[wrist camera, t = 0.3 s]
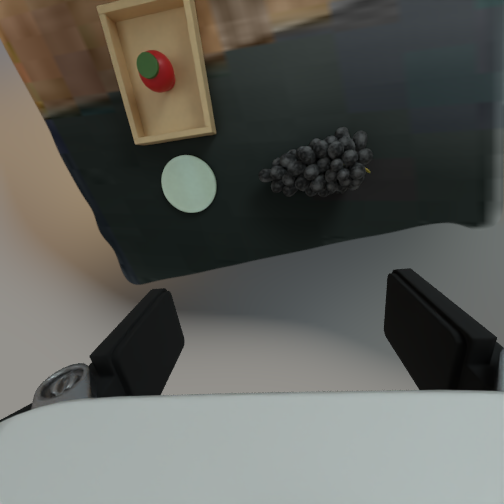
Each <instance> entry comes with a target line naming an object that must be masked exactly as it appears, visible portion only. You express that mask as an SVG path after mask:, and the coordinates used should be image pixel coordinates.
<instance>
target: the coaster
mask: <svg viewBox="0 0 504 504" xmlns="http://www.w3.org/2000/svg"><path fill="white" fill-rule="evenodd" d="M161 183H162V189H163V192H164V194H165V196H166V198H167V200H168V201H169V202H170V203H171V204H172V205H173V206H174V207H176V208H177V209H179V210H181V211H184V212H188V213H195V212H200V211H202V210H204V209H206V208H207V207H208V206H209V205H210V204H211V203H212V202H213V200H214V198H215V195H216V191H217V183H216V178H215V175H214V173H213V171H212V169H211V168H210V166H209V165H208V164H207V163H206V162H205V161H203V160H202V159H200V158H198V157H195V156H191V155H181V156H178V157H175V158H173V159H172V160H171V161H169V162H168V163H167V165H166V166H165V168H164V170H163V173H162V179H161Z"/></svg>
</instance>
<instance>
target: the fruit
mask: <svg viewBox="0 0 504 504" xmlns="http://www.w3.org/2000/svg"><path fill="white" fill-rule="evenodd" d="M366 144H367V133H366V132H364V131H358V132H357V133H355V134H354V135H353V139H351V138H350V135H349V131H348V129H347V128H345V127H341V128H339V129H337V131H336V132H335V137H334V136H328V137H326V139H325V140H324V141H321V140H320V139H317V138H316V139H313V140H312V141H311V142H310V144H309V146H305V147H304V146H301V147H299V148H298V149H297V150H295V149H292V150H290V151H289V152H288V153H285V154H283V155H282V156H281V158H276V159H275V160H274V161H273V168H271V169H262V170H261V171H260V172H259V179H260V180H261V181H262V182H270V181H272V184H271V189H272V191H273V192H275V193H279V192H281V191H282V190H283V193H284V194H285V195H286V196H292V195H293V194H295V193H296V192H297V190H298V189H299V190H300V191H305V193H306V194H307V195H308V196H310V197H311V196H314V195H317V194H319V195H320V196H321V197H326V196H328V195H331V194H333V193H334V192H336V193H340V194H341V193H344V192H345V191H346V190H347V188H348V189H349V190H356V189H358V187H359V186H360V185H361V183H362V182H363V181H364V179H365V173H366V172H368V173H370V171H369V170H368V169H367V168H365V166H364V165H365V164H368V163H369V162H370V161H371V160H372V158H373V152H372V151H371V150H370V149H364V148H365V147H366ZM330 158H331V159H332V161H331V159H330ZM356 161H357V162H356Z"/></svg>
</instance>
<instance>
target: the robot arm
mask: <svg viewBox="0 0 504 504" xmlns="http://www.w3.org/2000/svg"><path fill="white" fill-rule="evenodd" d="M384 332H385V336H386V338H387V339H388V341H389V342H390V344H391V345H392V347H393V349H394V350H395V352H396V353H397V355H398V356H399V358H400V360H401V361H402V363H403V364H404V366H405V368H406V369H407V371H408V372H409V374H410V376H411V377H412V379H413V380H414V382H415V383H416V385H417V387H418V388H419V390H392V391H391V390H387V391H329V392H328V391H327V392H326V391H323V392H275V393H273V392H271V393H225V394H189V395H161V393H162V391H163V389H164V387H165V385H166V382H167V380H168V378H169V376H170V374H171V372H172V370H173V368H174V366H175V364H176V361H177V359H178V357H179V355H180V353H181V351H182V349H183V346H184V336H183V333H182V329H181V326H180V323H179V319H178V316H177V312H176V309H175V306H174V302H173V299H172V295H171V293H170V292H169V291H167V290H166V289H164V288H163V289H152V290H151V291H150V292H149V293H148V294H147V295H146V296H145V297H144V298H143V299H142V300H141V301H140V302H139V303H138V305H136V307H135V308H134V309H133V310H132V311H131V312H130V313H129V314H128V315H127V316H126V317H125V319H123V321H122V322H121V323H120V324H119V325H118V326H117V327H116V328H115V329H114V330H113V331H112V332H111V333H110V334H109V336H108V337H107V338H106V339H105V340H104V341H103V342H102V343H101V344H100V345H99V346H98V347H97V348H96V349H95V350H94V352H93V353H92V354H91V355H90V358H91V360H92V363H91V364H90V365H89V366H87V365H86V364H82V363H78V364H73V365H70V366H68V367H65V368H63V369H61V370H59V371H57V372H55V373H54V374H52V375H51V376H50V377H48V378H47V379H46V380H45V381H44V382H43V383H42V384H41V385H40V386H39V387H38V388H37V390H36V392H35V395H34V399H33V403H31V404H30V405H28V406H26V407H24V408H22V409H20V410H18V411H17V412H15V413H13V414H11V415H9V416H7V417H5V418H3V419H1V420H0V504H504V348H503V347H502V346H501V345H500V344H499V343H497V342H496V340H497V337H496V336H495V335H493V334H492V333H491V332H489V331H488V330H487V329H486V328H485V327H483V326H482V325H481V324H479V323H478V322H477V321H476V320H474V319H473V318H472V317H471V316H469V315H468V314H467V313H466V312H464V311H463V310H462V309H461V308H459V307H458V306H457V305H456V304H454V303H453V302H452V301H450V300H449V299H448V298H447V297H446V296H444V295H443V294H442V293H441V292H439V291H438V290H437V289H436V288H434V287H433V286H432V285H431V284H429V283H428V282H427V281H425V280H424V279H423V278H422V277H420V276H419V275H418V274H417V273H416V272H414V271H413V270H412V269H397V270H393V272H392V273H391V274H389V275H388V278H387V292H386V305H385V319H384Z"/></svg>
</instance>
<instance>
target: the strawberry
mask: <svg viewBox="0 0 504 504" xmlns="http://www.w3.org/2000/svg"><path fill="white" fill-rule="evenodd" d="M136 64H137V69H138V73H139V76H140V78H141V80H142V82H143V83H144V84H145V86H146V87H147V88H149V89H150V90H152V91H154V92H158V93H163V92H166V91H169V90H171V89H172V88H173V87H174V85H175V74H174V69H173V66H172V64H171V62H170V61H169V59H168V58H167V57H166V56H165V55H164V54H162V53H161V52H159V51H156V50H148V51H146V52H142V53H141V54H140V55H139V56H138V58H137V62H136Z"/></svg>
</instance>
